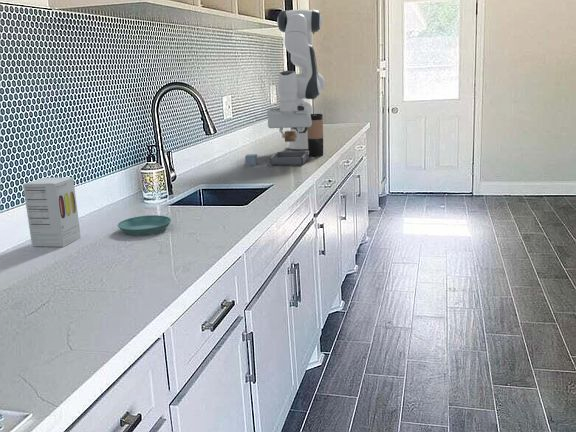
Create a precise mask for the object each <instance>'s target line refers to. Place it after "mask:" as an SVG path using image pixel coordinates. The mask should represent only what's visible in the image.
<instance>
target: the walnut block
mask: <svg viewBox="0 0 576 432" xmlns="http://www.w3.org/2000/svg"><path fill="white" fill-rule="evenodd" d="M283 133H284V134H285V138H284V142H285V143H289V142H295V141H296V137H295V133H296V131H291V130H286V131H283Z"/></svg>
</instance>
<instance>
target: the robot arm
mask: <svg viewBox="0 0 576 432" xmlns="http://www.w3.org/2000/svg"><path fill="white" fill-rule="evenodd" d="M276 19H277V20H276V24H277V27H278V30H280V32H282V33H284V47H285V49H286V51H287V52H288V53H289V54H290V61H291V63H292V64H293V65H294V66H296V67H297V68H299V69H300V73H297V72H296V71H294V70H283V71H281V72H279V74H278V80H277V83H276V85H277V90H278V94H279V99H278V105H279V107H270V108H268V110H267V111H266V116H267V127H268V128H269V129H278V130H279V132H280V134H281V137H282V139H285V133H284V131H283V130H284V129H287V128H289V129H291V130H290V131H296V133H295V137H296V141H295V142H288V145H286V147H285V149H291V150H308V132H307V127H310V126H311V125H312V120H311V115H310V114H314V113H313V112H314V111H313V106H312V105H311V103H309V102H308V101H305V100H315V99H316V98H318V96H319V95H320V94H321V93H322V92H323V91H324V89H325V86H326V83H325V81H326V80H325V78H324V76H323V75H322V74H321V73H320V72H319V71H318V66H317V58H316V52H315V49H314V46H313V37H312V35H315V33H317V32H319V30H320V29H321V27H322V24H323V18H322V15H321V13H320V11H319V10H317V9H304V8H303V9H301V8H299V9H291V10H287V9H286V10H281V11H280V12H279V13H278V16H277V18H276Z"/></svg>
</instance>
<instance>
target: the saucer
mask: <svg viewBox="0 0 576 432" xmlns="http://www.w3.org/2000/svg"><path fill="white" fill-rule="evenodd" d="M171 221H172V218H171V217H168V216H166V215H159V214H158V215H152V214H151V215H140V216H134V217H129V218H126V219H124V220H121V221H120V222H117V224H116V225H117V228H119V230H120V231H122V232H124V234H126V235H128V236H149V235H155V234H159V233H162V232H164V231H165V230H166V229H167V228H168V227H169V226H170V224H171Z"/></svg>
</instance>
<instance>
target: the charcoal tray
mask: <svg viewBox="0 0 576 432" xmlns="http://www.w3.org/2000/svg"><path fill="white" fill-rule="evenodd" d="M308 160H309V152H308V150H307V151H303V150H302V151H276V152H275V153H274V154H273V155H271V156H270V157H269V166H270V167H278V166H279V167H281V166H283V167H284V166H285V167H286V166H289V165H298V166H304V165H305V164H306V162H307V161H308ZM289 167H290V166H289Z"/></svg>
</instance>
